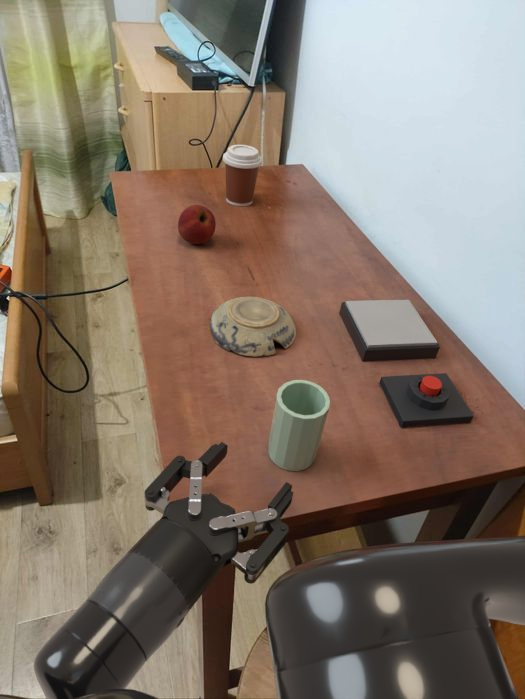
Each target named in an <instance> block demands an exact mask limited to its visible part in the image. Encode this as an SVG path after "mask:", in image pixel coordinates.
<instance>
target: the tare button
mask: <svg viewBox="0 0 525 699" xmlns="http://www.w3.org/2000/svg"><path fill="white" fill-rule="evenodd" d="M441 387H442V383H441V381H440V380H439V379H438V378H436V377H433V376H425V377H424V378H423V380H422V382H421V384H420V390H421V392H423V393H424V394H425V395H428V396H436V395H438V393H439V391H440V389H441Z"/></svg>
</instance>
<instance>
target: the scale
mask: <svg viewBox="0 0 525 699" xmlns="http://www.w3.org/2000/svg"><path fill="white" fill-rule="evenodd" d="M338 313H339V315H340V317H341V319H342V322H343V323H344V326H345V327H346V330H347V332H348V334H349V336H350V338H351V341H352V343H353V345H354V347H355V349H356V352H357V353H358V354H359V357H360V360H361V361H362V362H377V361H396V360H397V361H398V360H420V359H436V358H437V356H438V354H439V351H440V349H441V346H440V344H439V343H438V341H437V340H436V338H435V336H434V335H433V333H432V332H431V330H430V329H429V327H428V326H427V324H426V323H425V321H424V320H423V318H422V317H421V315H420V314H419V312H418V310H416V308H415V306H414V304H412V302H411V300H410V299H370V300H368V299H367V300H346V301H342V302H341V303H340V308H339V312H338Z"/></svg>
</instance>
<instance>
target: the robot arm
mask: <svg viewBox="0 0 525 699" xmlns="http://www.w3.org/2000/svg"><path fill="white" fill-rule="evenodd" d="M228 447H229V446H228V444H226V443H225V442H223V441H221V442H219V444H218V443H214V444H212V445H211V446H210V447H209V448H208V449H207V450H206V451H205V452H203V454H202V455H201V456H200V457H199V458H198V459H196V460H187V459H186V457H185V456H184V455H177V456H175V457H174V458H173V459H172V460H171V461H170V462H169V464H168V465H167V466H166V467H165V468H164V469H163V470H162V471H161V472H160V473H159V474H158V476H156V478H155V479H154V480H152V482H151V483H150V484H149V485H148V486H147V488H146V489H145V490H144V504H145V505H144V506H145V509H146V510H147V511H150V512H152V511H155V510H156V511H157V512H158V513H160V514H162V516H161V518H160V519H158V520H157V521H156V522H155V523H153V525H152V526H151V527H150V528H149V529H148V530H147V531H146V532H145V533H144V534H143V535H142V536H141V537H140V538H139V540H138V541H137V542H135V543H134V545H132V547H131V548H130V549H129V550H127V552H126V553H125V554H124V555H123V556H122V557H121V558H120V560H118V562H116V563H115V565H114V566H113V567H112V568H111V569H109V571H108V572H107V573H106V575H105V576H104V577H102V579H101V581H100V582H99V583H98V584H97V585H96V587H95V589H94V590H93V591H92V592H91V594H89V596H88V597H87V598H86V599H85V601H84V602H83V603H81V605H80V606H79V607H78V608H77V609H76V610H75V611H74V612H73V613H72V614H71V616H70V617H69V618H68V619H66V621H65V622H64V623H63V624H62V625H61V626H60V628H58V629H57V630H56V631H55V632H54V634H52V635H51V636H50V637H49V639H48V640H47V641H46V642H45V643H44V644H43V645H42V647H41V648H40V650H38V652H37V654H36V656H35V657H34V661H33V671H34V675H35V677H36V680H37V682H38V684H39V687H40V689H41V690H42V692H43V694H44V697H45V699H160V698H159V697H157V696H156V695H153V694H150V693H147V692H143V691H142V690H141V691H140V690H136V689H132V688H127V687H128V686H129V685H130V684H131V683H132V681H133V680H134V678H135V677H136V676H137V675H138V673H139V672H140V670H141V669H142V668H143V667H144V666H145V664H146V662H148V660H149V659H150V658H151V657H152V656H153V655H154V654H155V653H156V652H157V651H158V650H159V649H160V648H161V647H162V646H163V645H164V644H165V643H166V642H167V640H168V639H170V637H171V635H172V634H173V633H174V632H175V630H177V629H178V628H179V627H180V626H181V625H182V623H183V622H184V620H185V618H186V616H187V615H188V614H189V612H190V611H191V610H192V608H193V607H194V605H195V604H196V603H197V602H198V601H199V599H200V598H201V596H202V595H203V594H204V593H205V591H206V590H207V588H208V587H209V586H210V585H211V583H212V582H213V581H214V580H215V578H216V577H217V576H218V575H219V573H220V572H221V571H222V570H223V569H224V568H225V567H227V566H229V565H233V566H234V567H235V568H236V569H238V570H239V571H240V572H241V573H242V574H244V577H243V578H244V582H246V583H247V584H255V583H256V582H257V581H258V580H259V578H260V577H261V575H262V574H263V573H264V571H265V570H266V569H267V568H268V566H269V565H270V564H271V563H272V562H273V560H274V559H275V558H276V557H277V555H278V554H279V553H280V552H281V551H282V549H283V548H284V547H285V545H286V543H287V539H288V536H289V531H290V526H289V524H287V523H285V522H283V521H282V520H281V518H282V516H284V514H285V513H286V512H287V510H288V509H289V508H290V506H291V505H292V502H293V497H294V491H292V489H293V485H292V484H290V483H289V482H287V481H285V483H284V484H283V486H281V488H280V489H279V491H278V492H277V493H276V494H275V495H274V497H273V498H272V499H271V501H270V502H269V504H268V505H267V508H265V509H262V510H256V511H252V510H247V511H243V512H239V513H236V509H235V508H234V507H233V506H231V505H229V504H227V503H223V502H221V500H220V499H219V498H218V497H217V496H216V495H214V494H213V493H211V492H210V493H209V494H208V493H203V492H202V488H203V486H202V485H203V477H205V478H207V477H208V476H209V475H210V474H211V473H212V472H213V471H214V470H215V469H216V468H217V467H218V466H219V464H221V462H222V461H223V460H224V459H225V458H226V456H227V454H228ZM184 478H186V479H189V490H188V491H189V492H188V495H189V496H188V497H183V498H179V499H176V500H172V501H170V493H171V492H172V491H174V489H175V488H176V486H177V485H178V484H179V483H180V482H181V481H182V480H183V479H184ZM169 501H170V502H169ZM266 533H268V534H269V535H268V536H267V537H266V538H265V540H264V541H263V542H262V543H261V544H260V545H259V547H258V548H256V550H255V549H254V548H252V549H251V548H250V549H248V550H247V551H246V552H239V547H240V546H239V544H240V543H243V542H247V541H251V540H252V539H253V538H255V537H256V536H260V535H263V534H264V535H265V534H266ZM264 612H265V624H266V633H267V639H268V645H269V653H270V658H271V665H272V671H273V674H274V675H273V680H274V685H275V686H274V687H275V693H276V698H277V699H519V696H518V693H517V691H516V688H515V686H514V683H513V681H512V678H511V676H510V673H509V670H508V668H507V665H506V663H505V659H504V657H503V655H502V652H501V649H500V647H499V643H498V642H497V639H496V636H495V633H494V630H493V628H492V627H491V626H492V625H491V622H490V621H497V622H502V623H510V624H515V625H521V626H525V535H518V536H517V535H516V536H513V535H512V536H497V537H480V538H478V537H477V538H462V539H461V538H460V539H458V538H457V539H443V540H426V541H425V540H423V541H411V542H399V543H388V544H387V543H385V544H378V545H371V546H365V547H357V548H352V549H351V548H350V549H346V550H341V551H336V552H333V553H328V554H325V555H320V556H318V557H315V558H313V559H309V560H307V561H304V562H302V563H299V564H297V565H295V566H293V567H292V568H290V569H288V570H286V571H285V572H283V573H282V574H281V575H279V576H278V577H277V578H276V579H275V580H274V581H273V583H272V584H271V585H270V587H269V589H268V591H267V593H266V596H265V602H264ZM0 699H34V698H32V697H27V696H19V695H14V694H8V693H0Z"/></svg>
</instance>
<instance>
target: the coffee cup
mask: <svg viewBox="0 0 525 699" xmlns="http://www.w3.org/2000/svg"><path fill="white" fill-rule="evenodd" d="M222 155H223V156H222V161H223V162H224V165H225V201H226V203H228V204H230V205H232V206H237V207H247V206H250V205H251V204H253V201H254V195H255V190H256V184H257V178H258V175H259V174H258V173H259V167H261V166H262V165H263V157H262V156H261V155H260V154H259V150H258V149H257V148H256V147H253V146H251V145H247V144H233V145H230V146H229V147H227V151H226V152H224V153H223V154H222Z"/></svg>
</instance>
